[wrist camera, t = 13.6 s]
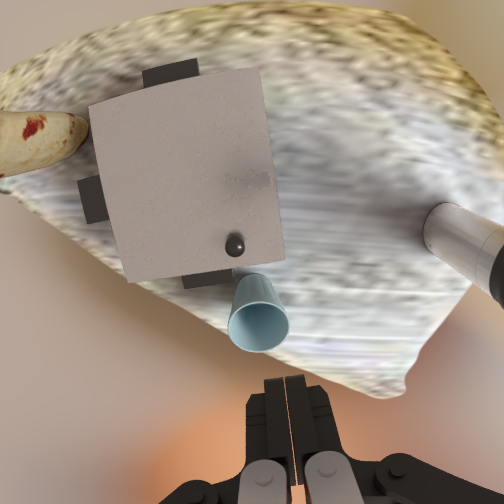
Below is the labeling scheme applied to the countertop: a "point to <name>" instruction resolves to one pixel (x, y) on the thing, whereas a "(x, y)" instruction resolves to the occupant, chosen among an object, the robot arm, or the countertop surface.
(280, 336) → the cup
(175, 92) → the lid
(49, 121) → the food model
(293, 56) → the countertop surface
